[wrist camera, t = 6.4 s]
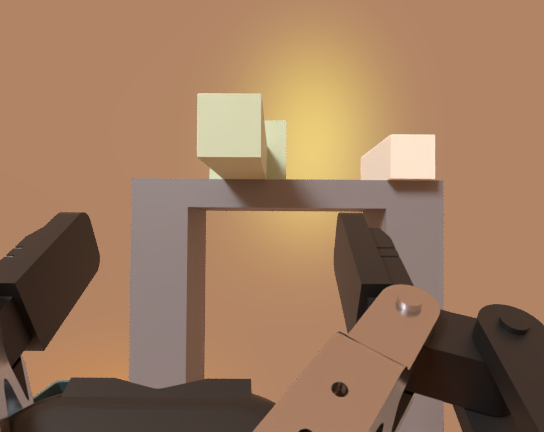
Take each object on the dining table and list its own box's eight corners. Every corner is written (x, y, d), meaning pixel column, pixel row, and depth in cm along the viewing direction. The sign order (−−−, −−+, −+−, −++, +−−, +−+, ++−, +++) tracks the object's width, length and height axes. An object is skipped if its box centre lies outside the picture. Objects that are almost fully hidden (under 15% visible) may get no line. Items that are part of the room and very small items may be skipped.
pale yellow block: (165, 156, 18) (166, 51, 18) (217, 188, 34) (217, 132, 34) (292, 157, 18) (293, 51, 18) (284, 188, 34) (284, 132, 34)
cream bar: (390, 178, 26) (390, 134, 26) (360, 190, 35) (360, 157, 35) (434, 178, 26) (435, 134, 26) (393, 190, 35) (393, 157, 35)
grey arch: (124, 639, 26) (131, 178, 27) (156, 551, 33) (161, 187, 34) (448, 644, 26) (447, 180, 27) (411, 555, 33) (411, 189, 34)
